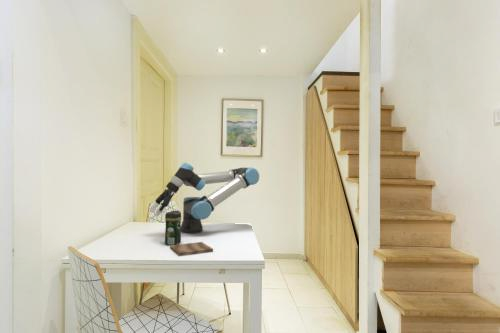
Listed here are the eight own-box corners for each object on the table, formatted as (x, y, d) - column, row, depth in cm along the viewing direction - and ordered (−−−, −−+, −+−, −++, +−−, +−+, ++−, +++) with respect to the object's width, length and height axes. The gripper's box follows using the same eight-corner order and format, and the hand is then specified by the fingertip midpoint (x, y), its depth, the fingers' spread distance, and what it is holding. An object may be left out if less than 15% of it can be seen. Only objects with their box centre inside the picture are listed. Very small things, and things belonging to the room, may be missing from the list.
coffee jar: (169, 241, 177) (170, 209, 177) (182, 242, 176) (183, 210, 176) (162, 245, 167) (163, 211, 167) (175, 246, 166) (176, 212, 166)
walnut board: (201, 244, 171) (201, 241, 171) (212, 251, 157) (213, 248, 157) (170, 248, 162) (170, 245, 162) (179, 256, 148) (179, 253, 148)
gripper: (164, 180, 196) (143, 207, 189) (175, 182, 174) (152, 213, 168) (173, 186, 199) (153, 214, 192) (185, 189, 177) (163, 220, 171)
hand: (153, 213), depth 180 cm, fingers open, 13 cm apart
